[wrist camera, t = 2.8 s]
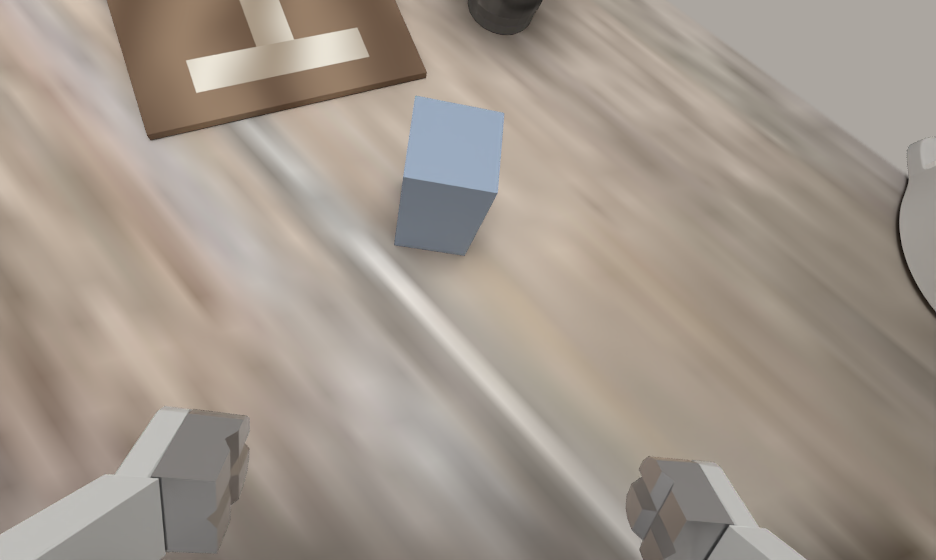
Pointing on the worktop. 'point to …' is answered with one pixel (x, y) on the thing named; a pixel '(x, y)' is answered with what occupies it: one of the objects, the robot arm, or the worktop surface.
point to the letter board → (256, 56)
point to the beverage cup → (503, 14)
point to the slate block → (448, 175)
